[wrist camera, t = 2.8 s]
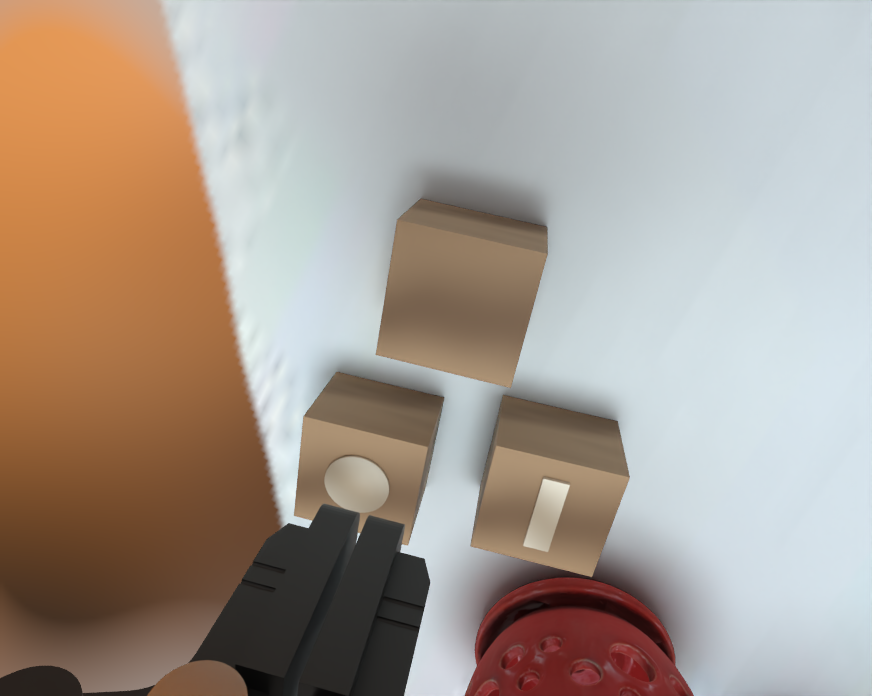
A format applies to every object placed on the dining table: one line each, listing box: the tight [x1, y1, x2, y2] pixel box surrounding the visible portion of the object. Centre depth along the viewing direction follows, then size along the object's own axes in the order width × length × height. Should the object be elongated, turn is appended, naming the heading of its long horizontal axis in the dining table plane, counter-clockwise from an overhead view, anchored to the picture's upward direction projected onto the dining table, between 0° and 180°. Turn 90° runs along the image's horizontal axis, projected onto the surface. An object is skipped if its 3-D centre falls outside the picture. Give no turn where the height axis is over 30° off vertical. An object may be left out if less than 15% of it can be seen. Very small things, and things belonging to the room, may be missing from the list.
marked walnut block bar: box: [471, 395, 630, 577], centre depth 30 cm, size 6×6×5 cm
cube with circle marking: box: [294, 372, 444, 545], centre depth 31 cm, size 6×6×5 cm
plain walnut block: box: [376, 199, 548, 388], centre depth 27 cm, size 6×6×5 cm
